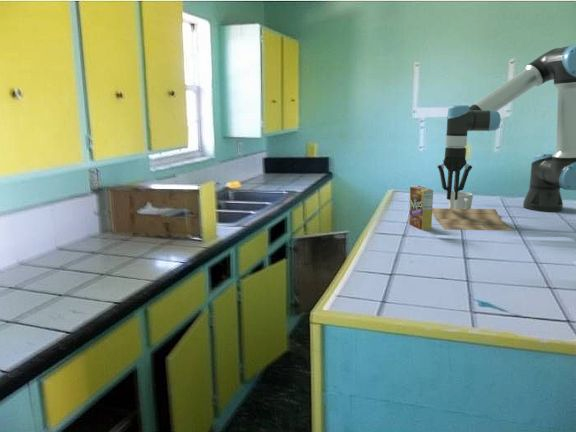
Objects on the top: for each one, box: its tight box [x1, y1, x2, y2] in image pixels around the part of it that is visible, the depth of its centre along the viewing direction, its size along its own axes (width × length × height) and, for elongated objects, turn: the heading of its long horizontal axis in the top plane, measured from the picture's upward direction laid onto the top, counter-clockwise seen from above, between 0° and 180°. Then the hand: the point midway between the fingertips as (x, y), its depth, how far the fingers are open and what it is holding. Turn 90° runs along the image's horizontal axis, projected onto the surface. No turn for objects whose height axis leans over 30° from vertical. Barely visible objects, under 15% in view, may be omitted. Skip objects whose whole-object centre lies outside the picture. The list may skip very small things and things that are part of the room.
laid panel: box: [435, 219, 516, 232], centre depth 182 cm, size 24×16×1 cm, turn 85°
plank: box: [432, 207, 502, 220], centre depth 194 cm, size 24×8×1 cm, turn 85°
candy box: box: [408, 185, 434, 231], centre depth 178 cm, size 9×4×15 cm, turn 17°
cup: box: [454, 191, 474, 209], centre depth 204 cm, size 11×8×8 cm
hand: (451, 207), depth 195 cm, fingers closed
